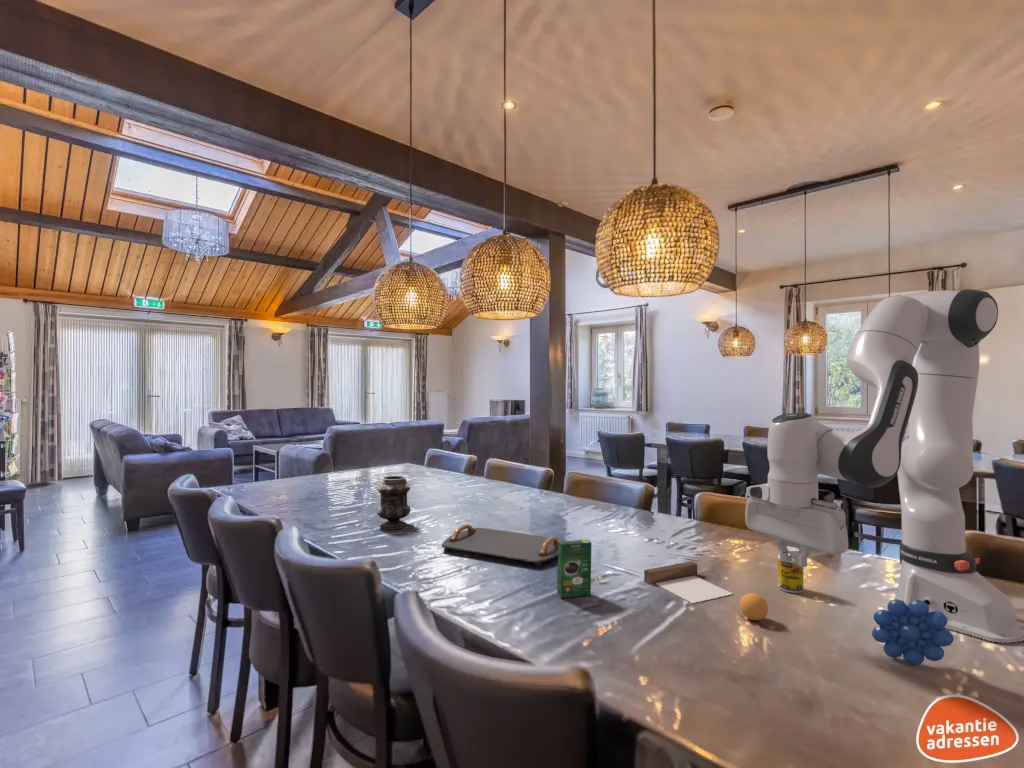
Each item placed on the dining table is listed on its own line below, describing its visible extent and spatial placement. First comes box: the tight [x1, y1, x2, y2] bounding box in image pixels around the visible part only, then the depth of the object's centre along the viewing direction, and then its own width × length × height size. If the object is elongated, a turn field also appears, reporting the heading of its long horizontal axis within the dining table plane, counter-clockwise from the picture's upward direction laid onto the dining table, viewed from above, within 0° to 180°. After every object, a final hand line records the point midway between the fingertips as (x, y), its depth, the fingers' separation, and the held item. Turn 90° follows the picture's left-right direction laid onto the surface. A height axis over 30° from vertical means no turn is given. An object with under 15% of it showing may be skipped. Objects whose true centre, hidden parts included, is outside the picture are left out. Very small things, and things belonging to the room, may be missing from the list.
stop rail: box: [643, 561, 698, 585], centre depth 132 cm, size 2×16×3 cm, turn 113°
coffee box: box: [556, 539, 592, 599], centre depth 122 cm, size 8×3×13 cm, turn 104°
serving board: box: [440, 524, 566, 569], centre depth 157 cm, size 39×23×6 cm, turn 63°
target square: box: [654, 575, 734, 604], centre depth 125 cm, size 13×13×1 cm
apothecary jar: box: [376, 475, 411, 530], centre depth 185 cm, size 12×12×18 cm
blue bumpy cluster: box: [871, 599, 955, 666], centre depth 91 cm, size 12×7×12 cm, turn 47°
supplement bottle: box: [777, 545, 804, 594], centre depth 125 cm, size 6×6×10 cm
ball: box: [739, 592, 769, 622], centre depth 109 cm, size 6×6×6 cm
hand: (793, 563), depth 100 cm, fingers closed
